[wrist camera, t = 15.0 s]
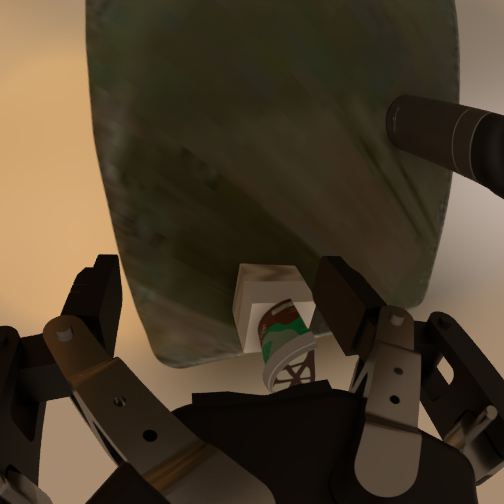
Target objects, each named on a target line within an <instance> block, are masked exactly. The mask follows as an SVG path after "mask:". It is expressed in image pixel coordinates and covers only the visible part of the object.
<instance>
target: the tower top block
mask: <svg viewBox="0 0 504 504" xmlns="http://www.w3.org/2000/svg"><path fill="white" fill-rule="evenodd" d="M290 298H291V300H292V302H293V304H294V305H295V307H296V309H297V311H298V312H299V314H300V316H301V318H302V319H303V321H304V323H305V325H306V326H307V328H309V325H310V322H311V319H312V316H313V313H314V309H315V306H316V305H315V303H314V301H313V297H312V292H311V291H310V289H309V288H308V286H307V284H306V283H305V281H258V282H244V288H243V295H242V302H241V309H240V316H239V322H238V329H237V330H238V334H239V338H240V341H241V345H242V349H243V352H244V353H251V352H262V349H261V345H260V340H259V336H258V325H259V322H260V320H261V318H262V317H263V315H264V314H265V313H266V312H267V311H268V310H269V309H270V308H271V307H273V306H274V305H276V304H278V303H280V302H281V301H284V300H287V299H290Z"/></svg>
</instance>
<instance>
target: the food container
mask: <svg viewBox="0 0 504 504" xmlns="http://www.w3.org/2000/svg"><path fill="white" fill-rule="evenodd" d="M258 336H259V340H260V345H261V349H262V353H263V358H264V362H265V368H264V371H263V381H264V384H265V385H266V387H267V389H268V390H269V392H270V393H271V394H272V393H275V392H277V391H280V390H283V389H286V388H288V387H291V386H293V385H296V384H301V383H308V382H314V381H315V365H314V349H317V348H318V346H317V344H316V341H315V338H314V336H313V333H312V331H311V332H309V330H308V328H307V326H306V325H305V323H304V321H303V319H302V318H301V316H300V314H299V312H298V311H297V309H296V307H295V305H294V304H293V302H292V300H291V298H290V299H287V300H284V301H281V302H280V303H278V304H276V305H274V306H273V307H271V308H270V309H269V310H268V311H267V312H266V313H265V314H264V315H263V317H262V318H261V320H260V322H259V325H258Z"/></svg>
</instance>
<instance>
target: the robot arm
mask: <svg viewBox="0 0 504 504" xmlns="http://www.w3.org/2000/svg"><path fill="white" fill-rule="evenodd" d="M386 124H387V131H388V135H389V137H390V139H391V141H392V142H393V144H394V145H395V146H396V147H397V148H399V149H401V150H404V151H406V152H409V153H411V154H414V155H416V156H418V157H421V158H423V159H426V160H428V161H431V162H433V163H435V164H438V165H440V166H442V167H445V168H447V169H449V170H451V171H454V172H456V173H458V174H460V175H462V176H464V177H467V178H469V179H471V180H473V181H475V182H477V183H479V184H481V185H483V186H485V187H487V188H488V189H490V190H491V191H492V192H493V193H494V194H496V195H498V196H499V197H501V198H503V199H504V115H500V114H497V113H493V112H489V111H485V110H481V109H478V108H473V107H469V106H464V105H460V104H455V103H450V102H445V101H440V100H434V99H429V98H423V97H416V96H409V95H406V96H402V97H399V98H398V99H396V100H395V101H394V102H393V104H392V105H391V107H390V109H389V111H388V115H387V122H386ZM312 297H313V301H314V303H315V305H316V306H317V308H318V310H319V311H320V313H321V315H322V316H323V318H324V320H325V321H326V323H327V325H328V327H329V328H330V330H331V332H332V333H333V335H334V337H335V338H336V340H337V342H338V344H339V345H340V347H341V349H342V350H343V352H344V354H345V355H346V356H351V355H357V354H358V355H359V358H358V360H357V363H356V366H355V370H354V373H353V377H352V380H351V384H350V387H349V391H345V390H339V389H332V388H331V386H330V384H329V382H328V380H327V379H326V380H321V381H314V382H308V383H301V384H296V385H293V386H291V387H288V388H286V389H283V390H280V391H277V392H275V393H272V394H269V395H254V394H245V393H236V392H229V391H227V392H210V393H192V404H189V405H185V406H182V407H180V408H177V409H175V410H173V411H172V412H170V411H169V410H168V409H167V408H166V407H165V406H164V405H163V404H162V403H161V402H160V401H159V400H158V399H157V398H156V397H155V396H154V395H153V394H152V392H151V391H149V389H148V388H147V387H146V386H145V385H144V384H143V383H142V382H141V381H140V380H139V379H138V377H136V375H135V374H134V373H133V372H132V371H131V370H130V369H129V367H127V365H126V364H125V363H124V362H123V361H122V360H121V359H120V358H119V357H115V358H113V357H114V350H115V343H116V337H117V330H118V325H119V319H120V313H121V308H122V285H121V276H120V266H119V258H118V255H107V254H105V255H103V254H102V255H101V254H100V255H98V257H97V259H96V261H95V264H94V266H93V267H86V268H84V269H83V270H82V271H81V272H80V273H79V274H78V275H77V276H76V279H75V281H74V283H73V285H72V288H71V290H70V293H69V295H68V297H67V300H66V302H65V305H64V307H63V310H62V312H61V315H60V316H58V317H56V318H54V319H52V320H50V321H49V322H48V323H47V324H46V325H45V327H44V329H43V333H41V334H38V335H33V336H27V337H22V338H20V336H19V334H18V331H17V330H16V329H15V328H13V327H11V326H0V504H53V503H52V501H51V500H50V498H49V497H48V496H47V494H45V493H44V492H43V491H42V490H41V489H40V488H38V476H39V460H40V448H41V439H42V429H43V421H44V415H45V408H46V402H47V401H48V400H53V399H59V398H64V397H70V399H71V401H72V402H73V404H74V406H75V407H76V409H77V410H78V412H79V413H80V415H81V416H82V418H83V419H84V421H85V422H86V424H87V425H88V426H89V428H90V429H91V431H92V432H93V434H94V435H95V437H96V438H97V439H98V441H99V442H100V444H101V445H102V447H103V448H104V450H105V451H106V453H107V454H108V455H109V457H110V458H111V459H112V460H113V462H114V463H115V464H116V465H117V467H118V468H117V469H116V470H115V471H114V472H113V473H112V474H111V476H110V477H109V478H108V479H107V480H106V481H105V482H104V484H102V486H101V487H100V488H99V489H98V490H97V491H96V492H95V493H94V494H93V496H92V497H91V498H90V499H89V500H88V501H87V502H86V503H85V504H478V499H477V492H476V486H478V485H480V484H482V483H483V482H485V481H486V480H487V479H489V478H490V477H492V476H493V475H494V474H496V473H497V472H498V471H499V470H501V469H502V468H503V467H504V380H503V378H502V377H501V376H500V374H499V373H498V372H497V370H496V369H495V368H494V367H493V365H492V364H491V363H490V361H489V360H488V359H487V358H486V356H485V355H484V354H483V353H482V351H481V350H480V349H479V348H478V346H477V345H476V344H475V343H474V342H473V340H472V339H471V338H470V337H469V336H468V334H467V333H466V332H465V331H464V330H463V329H462V327H461V326H460V325H459V324H458V323H457V322H456V320H455V319H454V318H452V317H451V316H450V315H448V314H445V313H443V312H433V313H431V315H430V316H429V318H428V320H427V322H422V321H414V320H413V317H412V316H411V315H410V314H409V312H407V311H406V310H404V309H403V308H401V307H398V306H394V305H387V304H386V303H385V302H384V301H383V299H382V298H381V297H380V296H379V295H378V294H377V292H376V291H375V290H374V289H373V288H372V287H371V285H370V284H369V283H368V282H367V281H366V280H365V279H364V277H363V276H362V275H361V274H360V273H358V272H357V271H355V270H354V269H352V268H351V267H349V265H348V264H347V263H346V262H345V261H344V260H343V259H342V257H340V256H323V257H322V258H321V259H320V261H319V265H318V269H317V273H316V277H315V281H314V284H313V289H312ZM443 356H444V357H445V359H446V360H447V362H448V363H449V364H450V365H451V367H452V368H453V372H454V378H453V380H452V382H451V383H450V385H449V384H448V383H447V382H446V380H445V379H444V377H443V376H442V374H441V373H440V371H439V370H438V368H437V365H438V364H439V362H440V361H441V359H442V358H443ZM419 401H421V403H422V405H423V407H424V408H425V410H426V412H427V414H428V415H429V417H430V419H431V421H432V422H433V424H434V426H435V428H436V429H437V431H438V433H439V435H440V436H441V438H442V440H443V441H441V440H439V439H437V438H436V437H434V436H432V435H430V434H428V433H426V432H424V431H422V430H420V429H419V428H418V415H419Z"/></svg>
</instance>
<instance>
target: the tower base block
mask: <svg viewBox="0 0 504 504" xmlns="http://www.w3.org/2000/svg"><path fill="white" fill-rule="evenodd" d="M258 281H304V279H303V277H302V276H301V274H300V273H299V271H298V269H297V268H296V266H289V265H262V264H240V267H239V273H238V279H237V285H236V290H235V296H234V302H233V308H232V312H233V316H234V320H235V323H236V327H237V329H238V322H239V316H240V309H241V302H242V295H243V288H244V282H258ZM305 283H306V282H305Z"/></svg>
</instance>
